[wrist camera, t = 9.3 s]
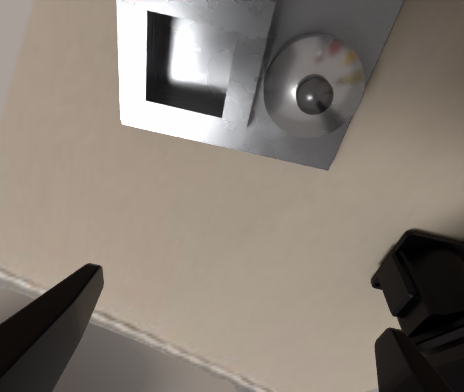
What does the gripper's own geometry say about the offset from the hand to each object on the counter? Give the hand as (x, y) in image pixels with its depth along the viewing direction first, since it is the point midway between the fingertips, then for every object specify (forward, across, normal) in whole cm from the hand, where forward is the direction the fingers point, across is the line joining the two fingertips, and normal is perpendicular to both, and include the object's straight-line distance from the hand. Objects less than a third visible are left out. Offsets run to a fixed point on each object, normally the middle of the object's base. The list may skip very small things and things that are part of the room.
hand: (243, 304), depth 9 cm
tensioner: (+13, +2, -4) cm, 14 cm away
